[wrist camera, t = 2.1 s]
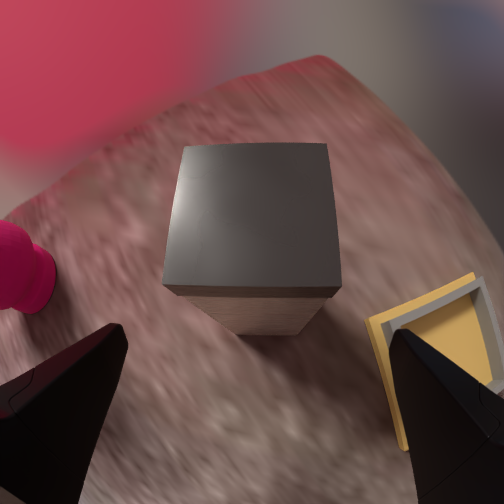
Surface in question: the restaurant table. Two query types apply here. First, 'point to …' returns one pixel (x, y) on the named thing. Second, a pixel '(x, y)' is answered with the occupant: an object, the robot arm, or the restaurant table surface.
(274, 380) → the restaurant table surface
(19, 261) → the pepper mill
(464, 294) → the square tray
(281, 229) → the grey rectangular block
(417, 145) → the restaurant table surface
